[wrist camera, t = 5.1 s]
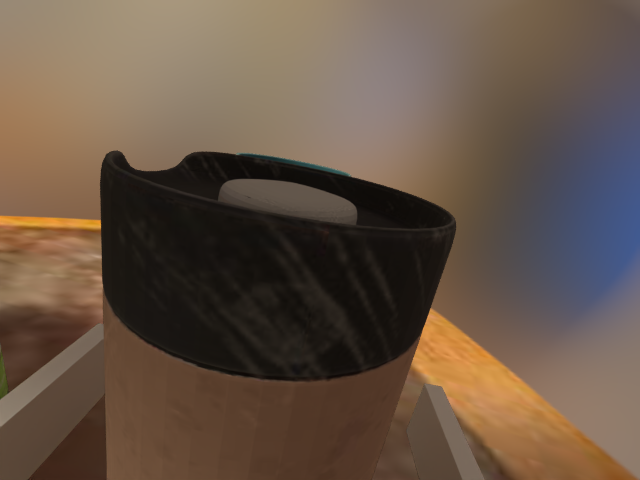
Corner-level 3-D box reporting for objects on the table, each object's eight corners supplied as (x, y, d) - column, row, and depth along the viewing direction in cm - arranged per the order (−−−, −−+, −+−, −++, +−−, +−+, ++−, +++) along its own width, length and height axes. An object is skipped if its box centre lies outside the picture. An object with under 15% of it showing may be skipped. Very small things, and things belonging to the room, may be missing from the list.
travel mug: (338, 677, 13) (534, 231, 6) (119, 925, 8) (74, 241, 2) (263, 494, 18) (330, 167, 12) (112, 581, 14) (95, 132, 8)
